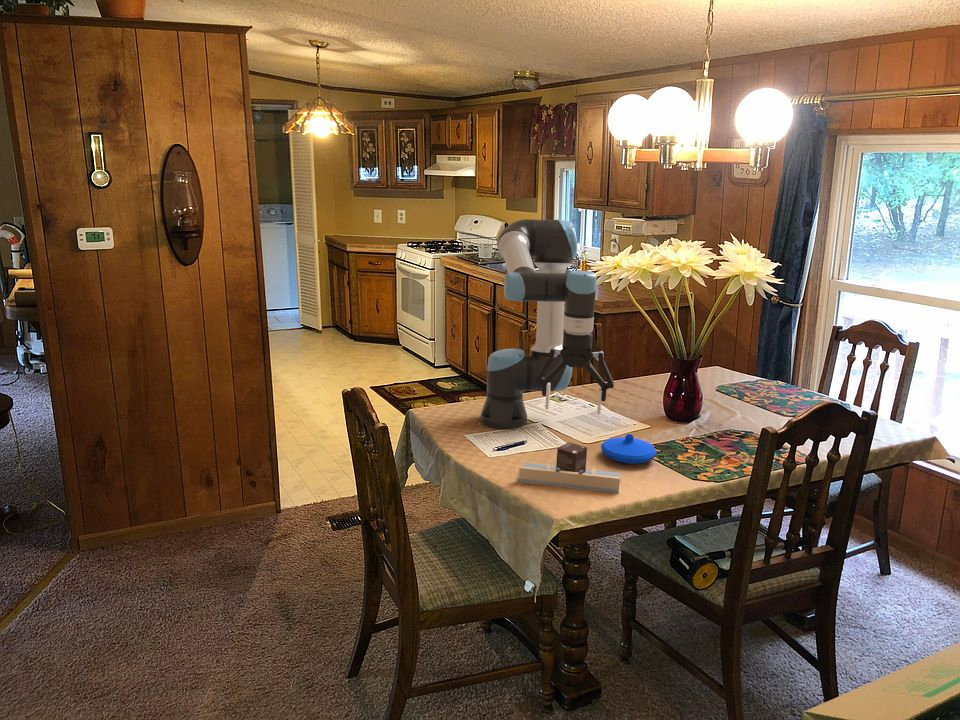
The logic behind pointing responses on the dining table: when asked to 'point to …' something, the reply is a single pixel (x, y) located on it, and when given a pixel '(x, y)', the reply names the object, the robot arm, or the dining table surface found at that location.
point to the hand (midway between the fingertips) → (572, 410)
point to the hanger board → (569, 478)
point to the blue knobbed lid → (628, 449)
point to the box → (571, 457)
